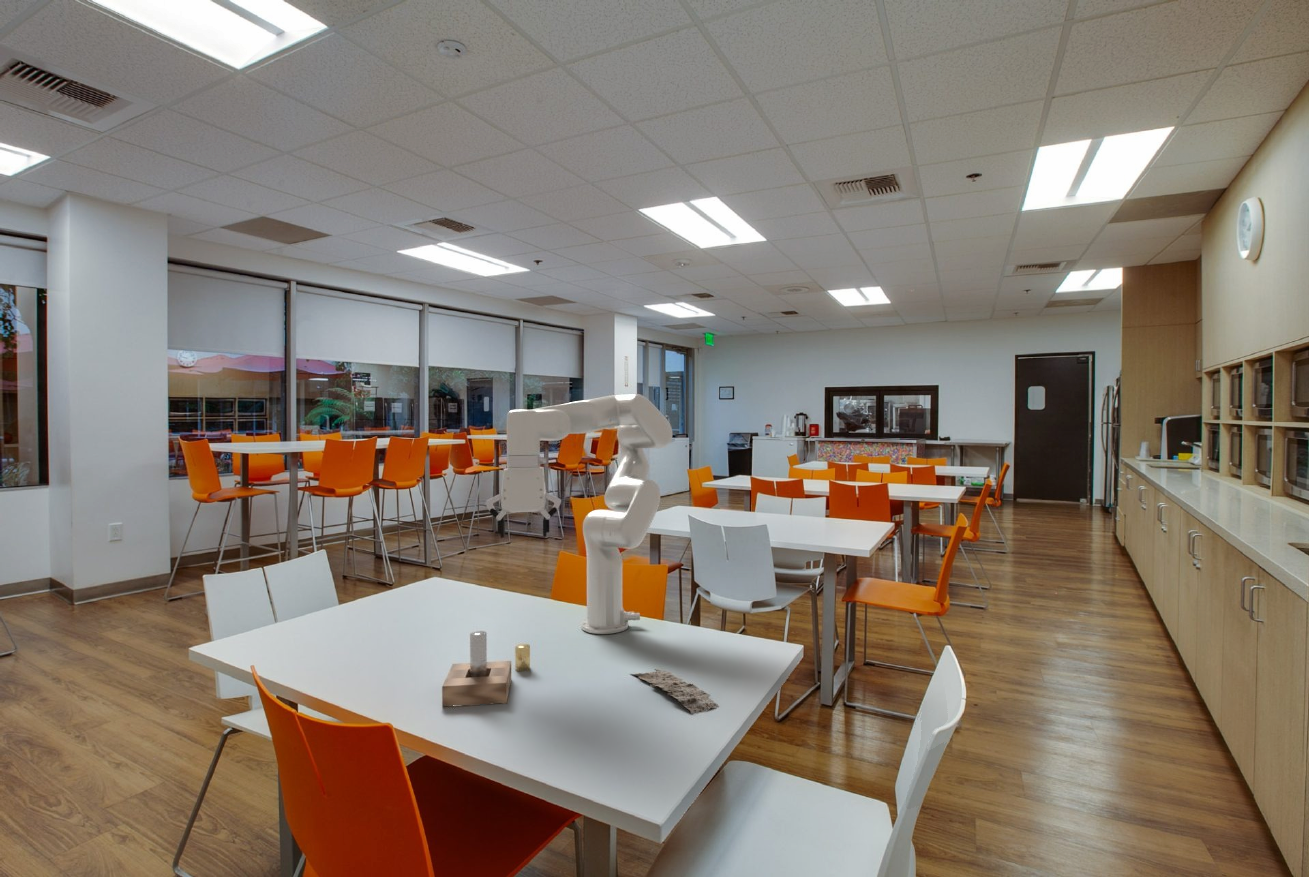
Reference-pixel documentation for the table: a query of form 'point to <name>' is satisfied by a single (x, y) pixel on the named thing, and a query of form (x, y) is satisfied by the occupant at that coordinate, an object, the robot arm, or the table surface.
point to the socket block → (477, 685)
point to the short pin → (522, 657)
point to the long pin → (478, 654)
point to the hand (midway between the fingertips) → (523, 536)
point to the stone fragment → (680, 690)
